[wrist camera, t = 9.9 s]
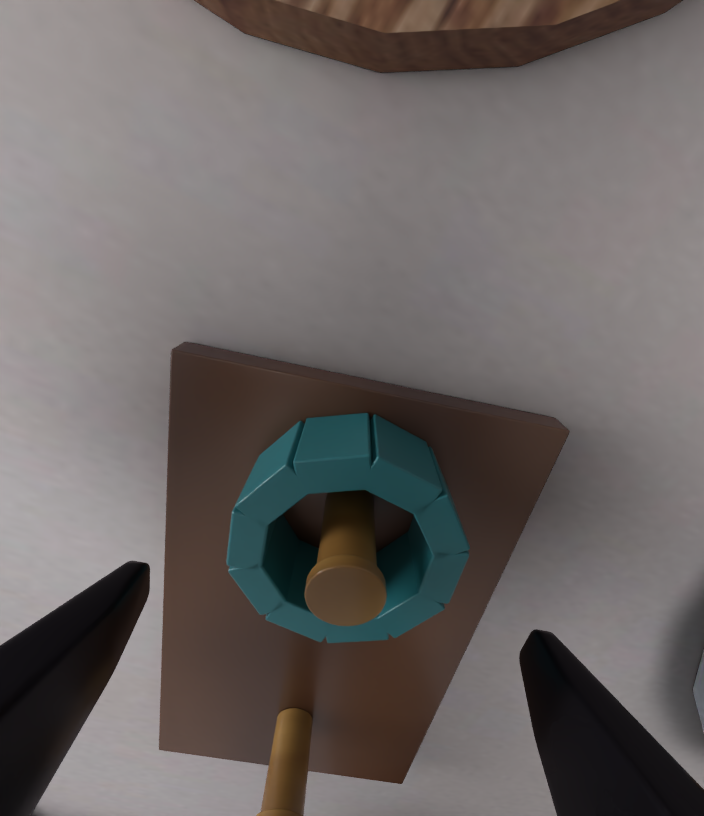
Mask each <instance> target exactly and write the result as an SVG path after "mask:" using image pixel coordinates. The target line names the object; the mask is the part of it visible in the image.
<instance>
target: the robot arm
mask: <svg viewBox="0 0 704 816" xmlns="http://www.w3.org/2000/svg"><path fill="white" fill-rule="evenodd" d="M149 589H150V567H149V565H148V564H147V563H143V562H137V561H129V562H127V563H125V564H124V565H122V566H121V567H119V568H117V569H116V570H114V571H113V572H111V573H110V574H108V575H107V576H105V577H104V578H102V579H101V580H99V581H98V582H96V583H95V584H93V585H92V586H90V587H89V588H87V589H86V590H84V591H83V592H81V593H79V594H78V595H76V596H75V597H73V598H72V599H70V600H69V601H67V602H66V603H64V604H63V605H61V606H60V607H58V608H57V609H55V610H54V611H52V612H51V613H49V614H48V615H46V616H45V617H43V618H41V619H40V620H38V621H37V622H35V623H34V624H32V625H31V626H29V627H28V628H26V629H25V630H23V631H22V632H20V633H19V634H17V635H16V636H14V637H13V638H11V639H10V640H8V641H7V642H5V643H3V644H2V645H0V816H31V814H32V812H33V811H34V809H35V807H36V805H37V804H38V802H39V800H40V799H41V797H42V795H43V793H44V792H45V790H46V788H47V786H48V785H49V783H50V781H51V780H52V778H53V776H54V774H55V773H56V771H57V769H58V768H59V766H60V764H61V762H62V761H63V759H64V757H65V755H66V754H67V752H68V750H69V749H70V747H71V745H72V743H73V742H74V740H75V738H76V737H77V735H78V733H79V731H80V730H81V728H82V726H83V725H84V723H85V721H86V719H87V718H88V716H89V714H90V712H91V711H92V709H93V707H94V706H95V704H96V702H97V700H98V699H99V697H100V695H101V694H102V692H103V690H104V688H105V687H106V685H107V683H108V681H109V679H110V678H111V676H112V674H113V672H114V670H115V668H116V666H117V664H118V662H119V659H120V657H121V655H122V653H123V651H124V649H125V646H126V644H127V642H128V640H129V638H130V636H131V633H132V631H133V629H134V627H135V625H136V623H137V620H138V618H139V616H140V614H141V612H142V610H143V607H144V605H145V603H146V601H147V598H148V595H149ZM519 659H520V667H521V672H522V677H523V682H524V687H525V692H526V697H527V702H528V707H529V712H530V717H531V722H532V727H533V731H534V736H535V740H536V743H537V747H538V751H539V754H540V758H541V761H542V765H543V768H544V772H545V775H546V779H547V782H548V786H549V789H550V792H551V796H552V799H553V803H554V806H555V810H556V813H557V816H704V789H703V788H702V787H701V786H700V785H699V784H698V783H697V782H696V781H695V780H694V779H693V778H692V777H691V776H690V775H689V774H688V773H687V772H686V771H685V770H684V769H683V768H682V767H681V766H680V765H679V763H678V762H677V761H676V760H675V759H674V758H673V757H672V756H671V755H670V754H669V753H668V752H667V751H666V750H665V749H664V748H663V747H662V746H661V745H660V744H659V743H658V742H657V741H656V740H655V739H654V738H653V737H652V735H651V734H650V733H649V732H648V731H647V730H646V729H645V728H644V727H643V726H642V725H641V724H640V723H639V722H638V721H637V720H636V719H635V718H634V717H633V716H632V715H631V714H630V713H629V712H628V711H627V710H626V709H625V708H624V706H623V705H622V704H621V703H620V702H619V701H618V700H617V699H616V698H615V697H614V696H613V695H612V694H611V693H610V692H609V691H608V690H607V689H606V688H605V687H604V686H603V685H602V684H601V683H600V682H599V681H598V680H597V678H596V677H595V676H594V675H593V674H592V673H591V672H590V671H589V670H588V669H587V668H586V667H585V666H584V665H583V664H582V663H581V662H580V661H579V660H578V659H577V658H576V657H575V656H574V655H573V654H572V653H571V652H570V651H569V649H568V648H567V647H566V646H565V645H564V644H563V643H562V642H561V641H560V640H559V639H558V638H557V637H556V636H555V635H554V634H553V633H551V632H548V631H543V630H533V631H532V632H531V633H530V635H529V637H528V638H527V640H526V642H525V644H524V646H523V647H522V649H521V651H520V657H519Z"/></svg>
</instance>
